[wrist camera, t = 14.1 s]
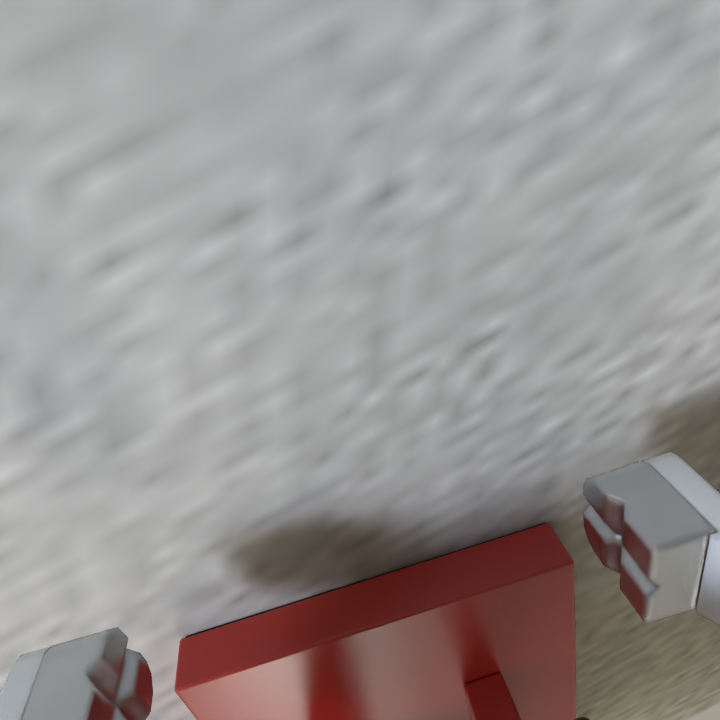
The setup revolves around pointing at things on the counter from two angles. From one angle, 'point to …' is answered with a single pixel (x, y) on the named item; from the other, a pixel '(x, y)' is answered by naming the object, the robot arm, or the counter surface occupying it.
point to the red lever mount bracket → (404, 645)
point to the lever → (582, 718)
